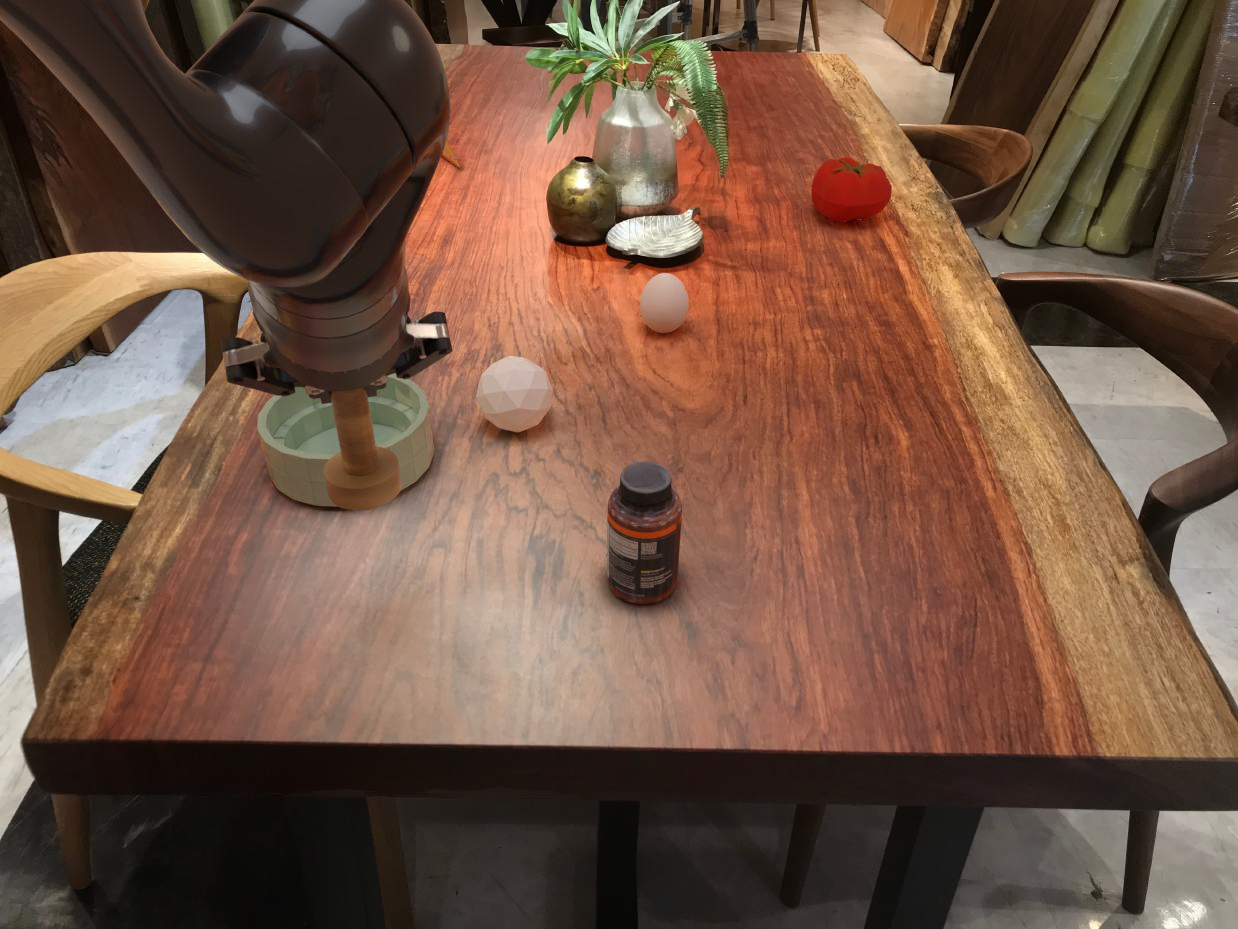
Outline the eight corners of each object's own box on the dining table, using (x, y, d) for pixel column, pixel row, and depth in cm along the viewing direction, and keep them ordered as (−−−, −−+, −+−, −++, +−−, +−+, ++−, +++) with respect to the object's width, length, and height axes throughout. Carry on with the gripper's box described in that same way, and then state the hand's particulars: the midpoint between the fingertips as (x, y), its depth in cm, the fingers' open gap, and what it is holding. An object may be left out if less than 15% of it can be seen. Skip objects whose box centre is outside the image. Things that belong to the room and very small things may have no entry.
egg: (681, 318, 115) (685, 262, 110) (691, 340, 110) (696, 283, 106) (634, 320, 114) (636, 264, 109) (643, 343, 109) (645, 286, 105)
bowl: (235, 489, 84) (220, 436, 81) (332, 406, 96) (322, 357, 93) (379, 528, 80) (370, 474, 77) (461, 436, 92) (457, 386, 89)
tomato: (896, 234, 140) (907, 178, 135) (815, 232, 140) (824, 176, 134) (875, 203, 151) (885, 150, 146) (801, 201, 151) (809, 148, 146)
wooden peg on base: (313, 500, 64) (281, 358, 57) (354, 460, 68) (329, 323, 61) (376, 517, 62) (352, 374, 55) (415, 476, 66) (396, 338, 59)
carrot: (422, 143, 174) (412, 122, 171) (442, 132, 175) (432, 111, 171) (455, 185, 161) (444, 163, 158) (476, 173, 162) (466, 151, 158)
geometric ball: (508, 456, 94) (464, 421, 88) (500, 396, 98) (458, 359, 92) (571, 428, 92) (530, 391, 86) (560, 368, 96) (521, 328, 90)
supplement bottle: (648, 549, 79) (653, 444, 72) (691, 588, 75) (701, 481, 68) (592, 576, 76) (593, 469, 69) (634, 618, 72) (639, 509, 65)
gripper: (454, 218, 48) (437, 322, 65) (174, 244, 44) (231, 348, 61) (481, 351, 47) (456, 422, 64) (197, 390, 43) (249, 455, 60)
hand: (346, 386), depth 62 cm, fingers closed on wooden peg on base, 2 cm apart
